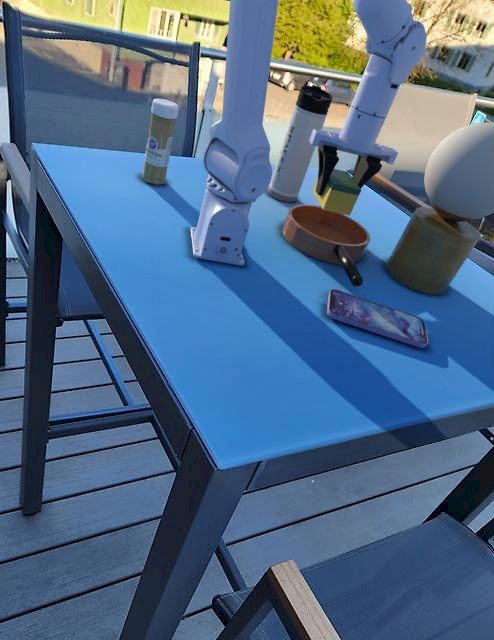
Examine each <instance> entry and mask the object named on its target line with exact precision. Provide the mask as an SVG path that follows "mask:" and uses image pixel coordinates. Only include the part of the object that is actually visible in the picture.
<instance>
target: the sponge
mask: <svg viewBox="0 0 494 640" xmlns="http://www.w3.org/2000/svg"><path fill="white" fill-rule="evenodd" d="M352 177H353V176H352V175H351V173H349V172H348V171H345V170H341V169H336V168H334V170H333V171H332V173H331V175H330V178H329V180H328V183H327V186H326V188H325V190H324V192H323V194H322V196H320V195H318V194H317V192H316V186H317V181H318V176H317V178H316V179H315V182H314V185H313V187H312V190H311V191H312V193H313V196H314V197H315V199H316V200H317V202H318V204H319V206H320V207H322V209H323V210H326V211H331V212H335V213H340V214H344V215H346V216H351V214H352V212H353V210H354V208H355V206H356V203H357V200H358V198H359V196H360V195H361V192H362V188H361V189H360V187H359V186H358V185H357V183H356V182H355V181H354V180H353V178H352Z"/></svg>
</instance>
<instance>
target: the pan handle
mask: <svg viewBox="0 0 494 640" xmlns="http://www.w3.org/2000/svg"><path fill="white" fill-rule="evenodd" d="M334 253H335V254H336V256H337V258H338V260H339V262H340V264H339V265H341V267H342V270H343V271H344V273H345V275H346V276H347V278H348V280H349V282H350V283H351V286H352V287H355V288H358V287H360V286H362V285H363V283H364V278H363V276H362V275H361V273H360V271H359V270H358V269H359V268H358V267H357V266H356V264H355V263H354V262H353V261H352V259H351V257H350V256H349V254H348V252H347V251H346V249H345V247H344V246H343V245H341V244H340V245H337V246H336V247H335V248H334Z"/></svg>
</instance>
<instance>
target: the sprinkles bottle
mask: <svg viewBox="0 0 494 640" xmlns="http://www.w3.org/2000/svg"><path fill="white" fill-rule="evenodd" d="M150 109H151V110H150V111H151V118H150V124H149V131H148V138H147V142H146V147H145V153H144V164H143V171H142V174H141V178H142V180H144V181H145V182H146V183H148V184H152V185H159V186H160V185H164V184H165V183H166V181H167V171H168V168H169V167H168V166H169V163H170V157H171V151H172V147H173V139H174V131H175V127H176V121H177V119H178V116H179V109H180V106H179V105H178V103H175V102H173V101H172V100H168V99H164V98H154V99H152V102H151V108H150Z"/></svg>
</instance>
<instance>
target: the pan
mask: <svg viewBox="0 0 494 640" xmlns="http://www.w3.org/2000/svg"><path fill="white" fill-rule="evenodd" d="M288 209H289V210H288V213H287V215H286V218H285V220H284V224H283V227H282V235H283V237H284V238H285V240H286V241H287V242H288V243H289V244H290V245H291V246H292V247H294V248H295V249H297V250H299V251H300V252H302V253H303V254H304V255H307V256H310V257H312V258H315V259H316V260H317V259H318V260H319V261H323V262H327V263H332V264H336V265H337V264H338V265H341V264H340V262H339V260H338V258H337V256H336V254H335V253H334V248H335V247H336V246H337V245H340V244H341V245H343V246H344V247H345V249H346V251H347V252H348V254H349V256H350V257H351V259H352V261H353V262H354V264H355V263H358V262H359V261H360V260H361V259H362V258H363V256H364V254H365V252H366V250H367V248H368V246H369V245H370V242H371V234H370V233H369V231H368V229H366V228H365V227H364V226H363V225H362V224H360V223H359V222H358V221H357V220H355V219H353V218H351V217H350V216H349V215H345V214H340V213H335V212H331V211H326V210H323V209H322V207H321V205H315V204H298V205H293V206H292V207H289V208H288Z"/></svg>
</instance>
